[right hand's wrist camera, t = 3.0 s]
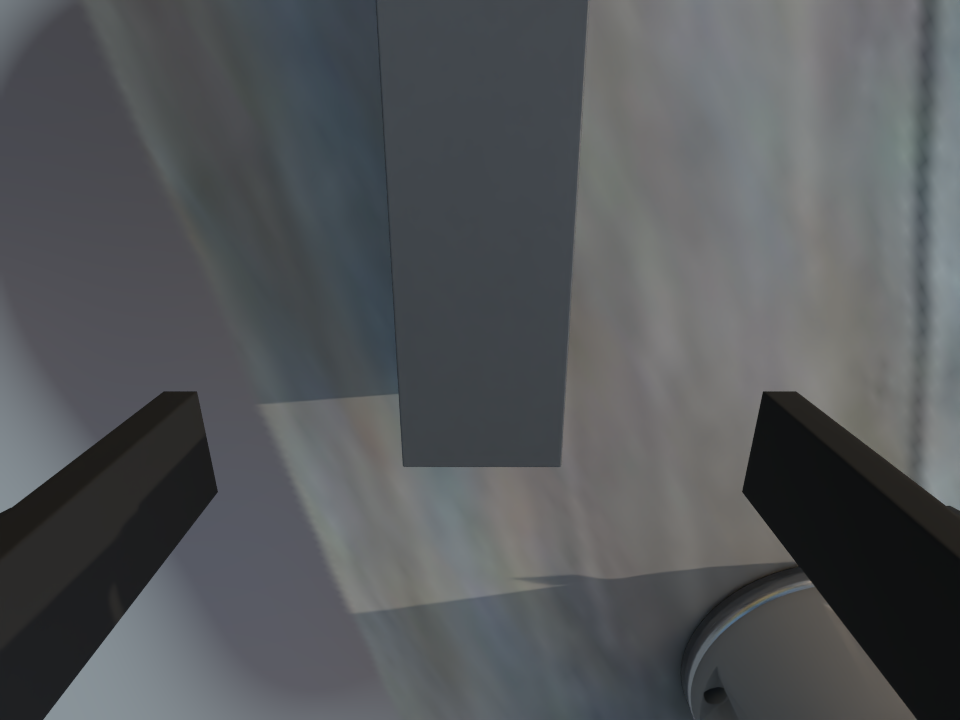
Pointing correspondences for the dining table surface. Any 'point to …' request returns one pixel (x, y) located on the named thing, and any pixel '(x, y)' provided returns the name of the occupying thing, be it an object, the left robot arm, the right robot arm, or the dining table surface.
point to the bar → (482, 221)
